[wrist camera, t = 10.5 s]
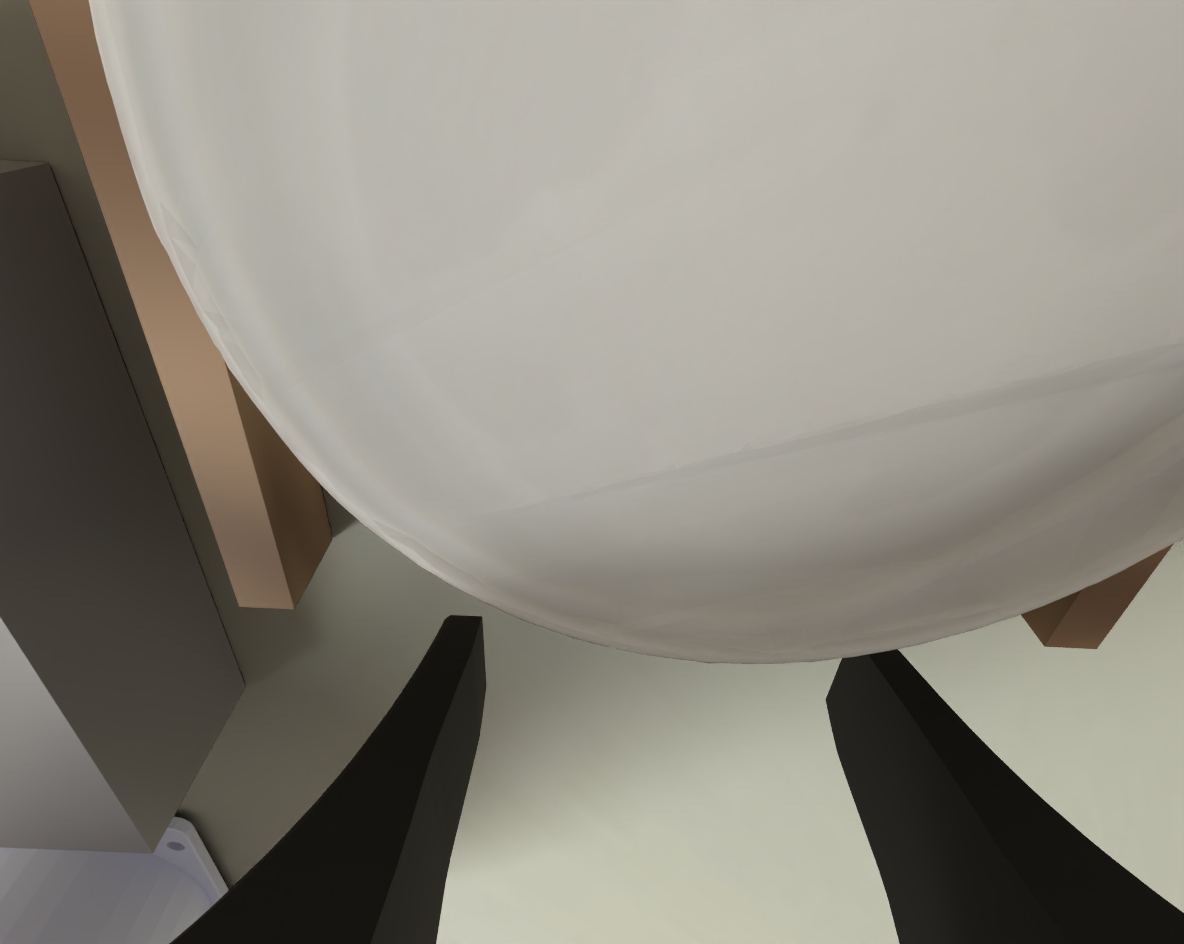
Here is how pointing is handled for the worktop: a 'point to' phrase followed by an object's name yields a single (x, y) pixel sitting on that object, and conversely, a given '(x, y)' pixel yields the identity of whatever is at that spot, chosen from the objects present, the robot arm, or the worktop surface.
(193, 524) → the worktop surface
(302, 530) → the bent wooden slat
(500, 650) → the worktop surface
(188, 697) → the base
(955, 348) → the ramekin
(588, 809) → the worktop surface
